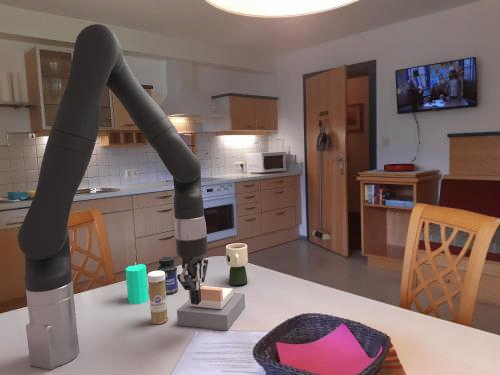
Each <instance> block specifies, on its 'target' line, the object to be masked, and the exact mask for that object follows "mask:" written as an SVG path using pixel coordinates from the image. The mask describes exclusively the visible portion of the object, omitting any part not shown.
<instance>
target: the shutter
mask: <svg viewBox="0 0 500 375" xmlns="http://www.w3.org/2000/svg"><path fill="white" fill-rule="evenodd" d="M200 289H201V302H200V303H199V304H198V305H195V304H191V299H190V290H188V297H189V298H188V300H189V302H190V306H194V307H204V308H214V309H222V308H223V307H224V305H225V304H226V303H227V302H228V301H229V300H230V299H231V297H232V296H233V293H234V288H232V287H231V288H229V287H218V286H217V287H216V286H205V285H202V287H201V288H200Z"/></svg>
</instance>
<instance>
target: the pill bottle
mask: <svg viewBox="0 0 500 375" xmlns="http://www.w3.org/2000/svg"><path fill="white" fill-rule="evenodd" d="M158 263H159V266H158V267H157V271H164V272H165V289H166V296H169V295H174V294H177V292H178V291H179V280H178V279H177V276H178V267H177V265H176V264H175V258H174V257H173V256H162V257H160V258H159V260H158Z"/></svg>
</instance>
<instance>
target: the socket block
mask: <svg viewBox="0 0 500 375" xmlns="http://www.w3.org/2000/svg"><path fill="white" fill-rule="evenodd" d="M245 298H246V296H245V293H239V292H233V296H232V297H231V299H230V300H229V301H228V302H227V303H226V304H225V305H224V307H223V308H222V309H214V308H204V307H194V306H190V302H189V299H188V300H186V302H184V303H183V304H182V305H181V306H180V307H179V308H178V309H176V317H177V326H183V327H194V328H202V329H210V330H219V331H229V329H230V328H231V327H232V326H233V324H234V323H235V322H236V320H238V318H239V316H240V315H241V314H242V312H243V311H244V310H245V308H246V299H245Z"/></svg>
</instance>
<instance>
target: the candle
mask: <svg viewBox="0 0 500 375" xmlns="http://www.w3.org/2000/svg"><path fill="white" fill-rule="evenodd" d="M134 263H135V264H134V265H128V267H126V268H125V280H126V291H127V301H128V303H129V304H130V305H139V304H140V305H141V304H143V303H146V302H148V300H149V286H148V276H147V275H148V274H147V265H145V264H143V263H140V264H137V262H134Z"/></svg>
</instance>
